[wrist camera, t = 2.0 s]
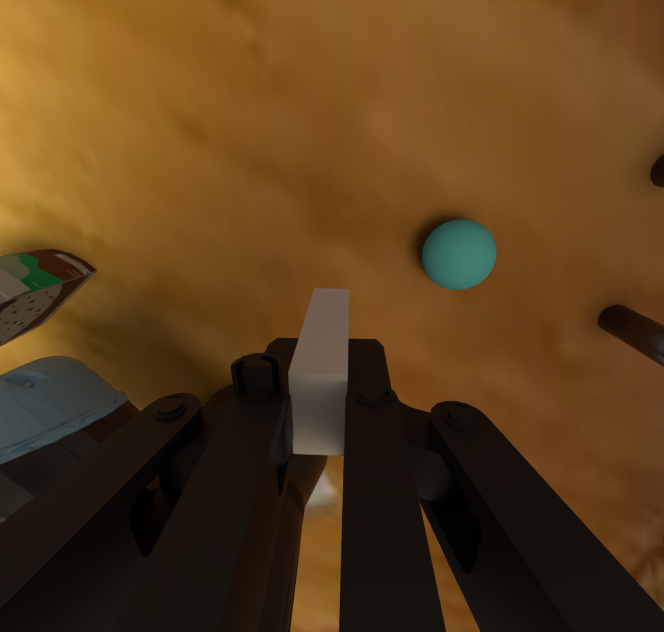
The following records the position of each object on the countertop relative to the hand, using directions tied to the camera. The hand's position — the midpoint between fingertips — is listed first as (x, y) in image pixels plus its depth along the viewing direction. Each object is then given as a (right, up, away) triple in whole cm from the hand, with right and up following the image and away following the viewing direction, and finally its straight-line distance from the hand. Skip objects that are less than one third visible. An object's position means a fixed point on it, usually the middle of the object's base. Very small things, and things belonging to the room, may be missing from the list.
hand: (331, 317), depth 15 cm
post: (+26, 0, +16) cm, 31 cm away
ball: (+10, +5, +11) cm, 16 cm away
